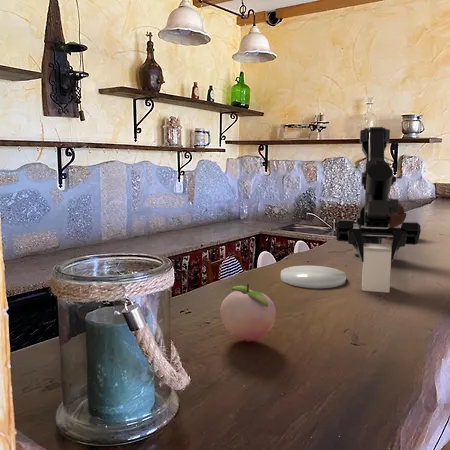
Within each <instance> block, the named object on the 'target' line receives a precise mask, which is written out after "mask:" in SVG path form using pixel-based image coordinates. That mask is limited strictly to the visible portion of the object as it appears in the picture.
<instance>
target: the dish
mask: <svg viewBox="0 0 450 450" xmlns="http://www.w3.org/2000/svg"><path fill="white" fill-rule="evenodd" d="M346 279H347V274H346V272H344V271H342V270H341V269H336V268H334V267H328V266H323V265H293V266H289V267H284V268H283V269H282V270H281V271H280V280H281V281H282V282H283V283H285V284H287V285H290V286H293V287H294V286H295V287H299V288H307V289H329V288H331V289H332V288H337V287H340V286H343V285H345V283H346V282H347V281H346Z"/></svg>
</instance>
